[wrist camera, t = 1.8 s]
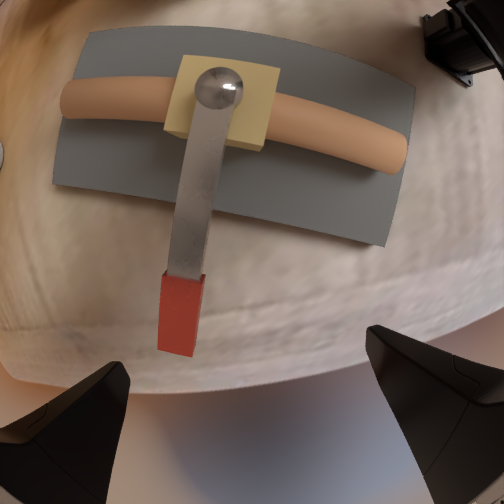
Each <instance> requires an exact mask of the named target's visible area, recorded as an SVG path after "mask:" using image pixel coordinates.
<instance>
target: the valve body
mask: <svg viewBox="0 0 504 504" xmlns="http://www.w3.org/2000/svg"><path fill="white" fill-rule="evenodd" d="M215 67H226V68H230V69H232V70H234V71H235V72H237V73H238V74H239V76H240V77H241V79H242V81H243V90H244V94H243V98H242V101H241V103H240V104H239V105H238V106H237V107H236V108H235V109H234V112H233V116H232V120H231V125H230V129H229V134H228V138H227V143H226V147H225V152H224V157H223V161H222V166H221V171H220V176H219V181H218V186H217V191H216V196H215V202H214V207H213V210H218V211H223V212H228V213H233V214H238V215H243V216H248V217H253V218H258V219H263V220H268V221H273V222H277V223H282V224H287V225H291V226H296V227H300V228H305V229H309V230H314V231H318V232H323V233H327V234H331V235H336V236H340V237H344V238H348V239H353V240H357V241H361V242H365V243H369V244H373V245H377V246H381V247H385V244H386V241H387V237H388V234H389V230H390V227H391V223H392V219H393V215H394V212H395V208H396V204H397V199H398V195H399V191H400V186H401V182H402V177H403V172H404V167H405V162H406V156H407V151H408V145H409V138H410V132H411V124H412V117H413V108H414V98H415V87H414V86H412V85H410V84H408V83H406V82H404V81H402V80H400V79H398V78H396V77H394V76H392V75H390V74H388V73H386V72H383V71H381V70H379V69H377V68H374V67H372V66H369V65H367V64H365V63H362V62H360V61H357V60H354V59H352V58H349V57H346V56H343V55H340V54H338V53H335V52H332V51H328V50H325V49H322V48H319V47H315V46H312V45H308V44H305V43H301V42H297V41H293V40H289V39H284V38H280V37H275V36H270V35H265V34H259V33H254V32H247V31H240V30H233V29H224V28H213V27H199V26H144V27H130V28H119V29H111V30H104V31H97V32H91V33H89V35H88V38H87V40H86V43H85V45H84V48H83V50H82V53H81V56H80V58H79V61H78V64H77V67H76V70H75V73H74V76H73V80H71V81H70V82H68V83H67V85H66V86H65V87H64V89H63V91H62V94H61V99H60V109H61V112H62V114H63V117H62V122H61V127H60V132H59V137H58V143H57V149H56V156H55V163H54V171H53V180H52V184H56V185H63V186H71V187H78V188H86V189H93V190H100V191H106V192H113V193H120V194H126V195H132V196H139V197H145V198H151V199H157V200H163V201H168V202H174V203H176V200H177V194H178V188H179V182H180V177H181V171H182V166H183V161H184V156H185V151H186V146H187V141H188V137H189V132H190V128H191V123H192V119H193V115H194V111H195V106H196V102H197V98H196V96H195V91H194V89H195V84H196V81H197V79H198V78H199V76H200V75H201V74H202V73H204V72H205V71H207V70H209V69H211V68H215Z"/></svg>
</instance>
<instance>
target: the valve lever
mask: <svg viewBox="0 0 504 504" xmlns="http://www.w3.org/2000/svg"><path fill="white" fill-rule="evenodd" d="M194 91H195V96H196V98H197V102H196V106H195V111H194V115H193V119H192V123H191V128H190V132H189V137H188V141H187V146H186V151H185V156H184V161H183V166H182V171H181V177H180V182H179V188H178V194H177V200H176V206H175V213H174V219H173V226H172V234H171V241H170V249H169V258H168V267H167V270H166V271H165V273H164V274H163V275H162V282H161V294H160V308H159V325H158V350H161V351H166V352H170V353H174V354H178V355H183V356H188V357H192V356H193V353H194V349H195V345H196V338H197V331H198V323H199V316H200V309H201V302H202V296H203V289H204V283H205V277H206V275H205V274H202V271H203V265H204V259H205V252H206V246H207V241H208V235H209V229H210V223H211V218H212V212H213V207H214V202H215V196H216V191H217V186H218V181H219V176H220V171H221V166H222V161H223V157H224V152H225V147H226V143H227V138H228V134H229V129H230V125H231V120H232V116H233V112H234V109H235V108H236V107H237V106H238V105H239V104H240V103H241V101H242V98H243V94H244V90H243V81H242V79H241V77H240V76H239V74H238V73H237V72H235V71H234V70H232V69H230V68H226V67H215V68H211V69H209V70H207V71H205V72H204V73H202V74H201V75H200V76H199V78H198V79H197V81H196V84H195V89H194Z"/></svg>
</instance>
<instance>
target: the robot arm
mask: <svg viewBox="0 0 504 504" xmlns="http://www.w3.org/2000/svg"><path fill="white" fill-rule="evenodd" d="M447 4H448V5H449V6H450V7H451V8H452V9H450V10H449V11H448V10H447V9H443V10H442V11H440V12H438V13H437V14H435V15H434V16H432V17H431V16H430V15H428V14H426V15H425V16H424V39H425V56H426V58H427V59H428V60H429V61H431V62H432V63H434V64H435V65H437V66H439V67H440V68H442V69H443V70H445V71H446V72H448V73H449V74H451V75H452V76H454V77H455V78H457V79H458V80H459V81H461V82H462V83H464V84H465V85H466V86H468V87H471V86H473V78H472V74H476V73H479V72H483V71H486V70H490V69H494V68H497V69H498V71H499V72H500V74H501V76H502V79H503V80H504V0H450V1H448V2H447ZM429 55H430V56H431V57H430V56H429ZM365 347H366V352H367V355H368V357H369V360H370V362H371V365H372V368H373V370H374V373H375V375H376V378H377V381H378V384H379V386H380V388H381V390H382V392H383V394H384V396H385V397H386V399H387V402H388V403H389V406H390V408H391V409H392V412H393V413H394V415H395V417H396V419H397V422H398V423H399V426H400V428H401V430H402V432H403V433H404V436H405V438H406V440H407V442H408V444H409V446H410V449H411V450H412V453H413V455H414V457H415V459H416V461H417V464H418V466H419V468H420V470H421V473H422V475H423V476H424V477H423V478H424V480H425V482H426V484H427V487H428V489H429V492H430V494H431V496H432V499H433V501H434V504H472V503H474V502H475V501H476V502H477V504H504V370H502V369H498V368H494V367H490V366H486V365H483V364H480V363H476V362H473V361H470V360H467V359H464V358H462V357H459V356H456V355H452V354H451V353H448V352H446V351H443V350H441V349H438V348H436V347H433V346H431V345H428V344H425V343H423V342H420V341H418V340H415V339H413V338H410V337H408V336H405V335H403V334H400V333H398V332H395V331H393V330H390V329H388V328H385V327H383V326H381V325H373V326H370V327H368V328H367V330H366V345H365ZM129 388H130V377H129V375H128V373H127V371H126V370H125V368H124V366H123V364H122V363H121V362H120V361H112V362H109V363H108V364H106V365H105V366H103V367H102V368H100V369H99V370H97V371H96V372H94V373H93V374H91V375H90V376H88V377H87V378H85V379H83V380H82V381H80V382H79V383H77V384H76V385H74V386H73V387H71V388H70V389H68V390H67V391H65V392H63V393H62V394H60V395H59V396H57V397H56V398H54V399H53V400H51V401H49V403H46V404H45V405H43V406H41V407H40V408H38V409H36V410H35V411H33V412H31V413H30V414H28V415H26V416H24V417H23V418H20V419H18V420H17V421H15V422H13V423H11V424H9V425H7V426H5V427H3V428H0V504H105V503H106V500H107V493H108V488H109V483H110V478H111V473H112V467H113V464H114V459H115V454H116V450H117V446H118V442H119V438H120V434H121V430H122V426H123V422H124V417H125V413H126V406H127V400H128V394H129Z"/></svg>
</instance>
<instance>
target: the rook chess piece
mask: <svg viewBox="0 0 504 504" xmlns="http://www.w3.org/2000/svg"><path fill="white" fill-rule="evenodd" d="M3 158H4V149H3V145H2V144H1V142H0V169H1V166H2V164H3Z"/></svg>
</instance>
